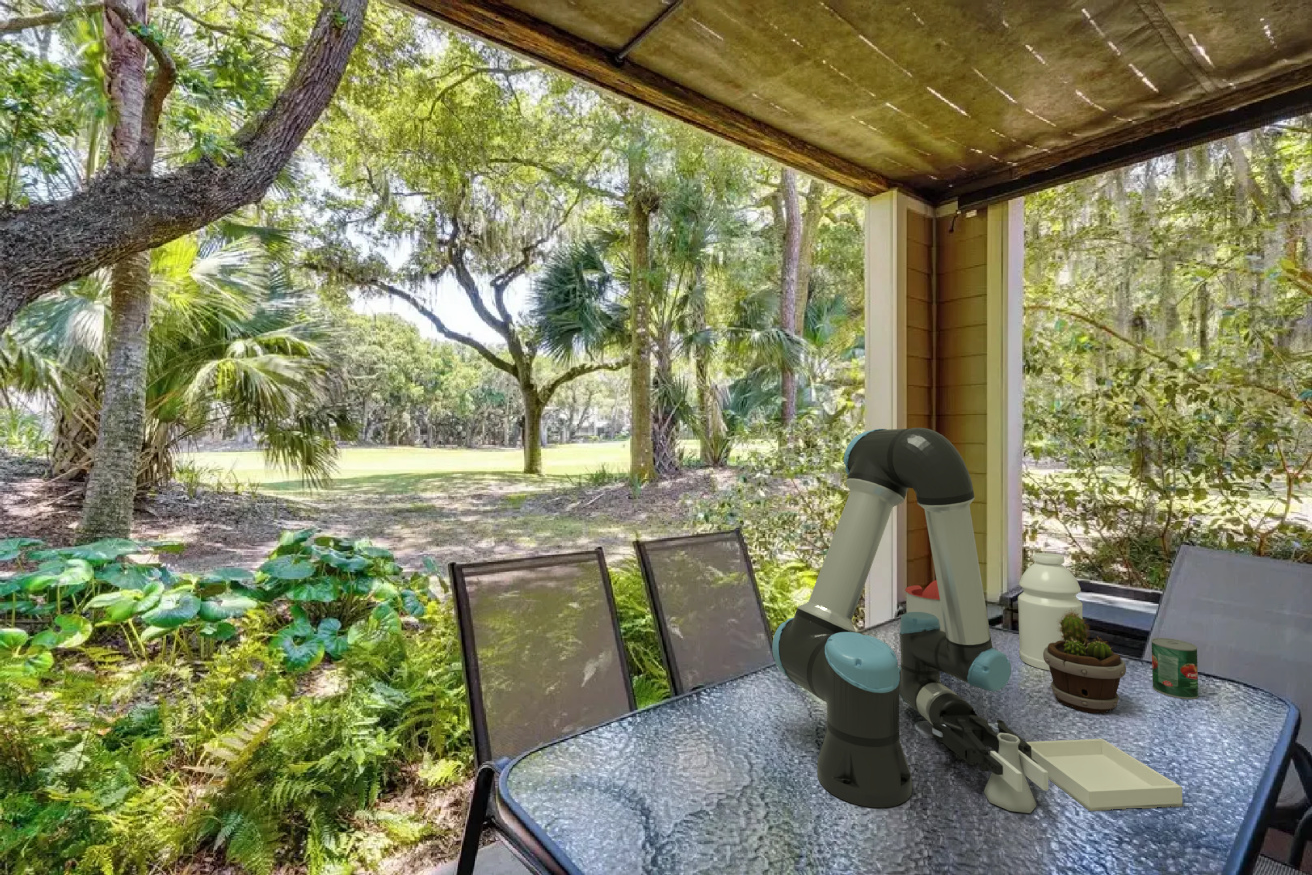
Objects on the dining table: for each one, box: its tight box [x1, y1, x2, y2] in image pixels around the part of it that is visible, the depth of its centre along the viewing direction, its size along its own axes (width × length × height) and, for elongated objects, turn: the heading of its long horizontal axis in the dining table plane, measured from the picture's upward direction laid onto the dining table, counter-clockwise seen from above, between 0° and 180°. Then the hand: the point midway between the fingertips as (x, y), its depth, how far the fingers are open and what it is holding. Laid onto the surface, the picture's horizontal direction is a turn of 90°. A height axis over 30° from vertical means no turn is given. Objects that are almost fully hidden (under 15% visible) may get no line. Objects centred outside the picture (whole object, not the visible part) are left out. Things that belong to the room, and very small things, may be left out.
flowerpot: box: [1043, 607, 1127, 714], centre depth 128 cm, size 14×15×20 cm
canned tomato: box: [1150, 637, 1199, 700], centre depth 133 cm, size 8×8×11 cm
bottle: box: [1017, 552, 1084, 671], centre depth 151 cm, size 14×14×28 cm
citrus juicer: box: [904, 579, 945, 632], centre depth 160 cm, size 16×17×20 cm
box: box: [1025, 738, 1183, 812], centre depth 98 cm, size 15×15×3 cm
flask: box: [983, 733, 1037, 814], centre depth 93 cm, size 7×7×10 cm
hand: (1032, 781), depth 88 cm, fingers closed on flask, 3 cm apart
